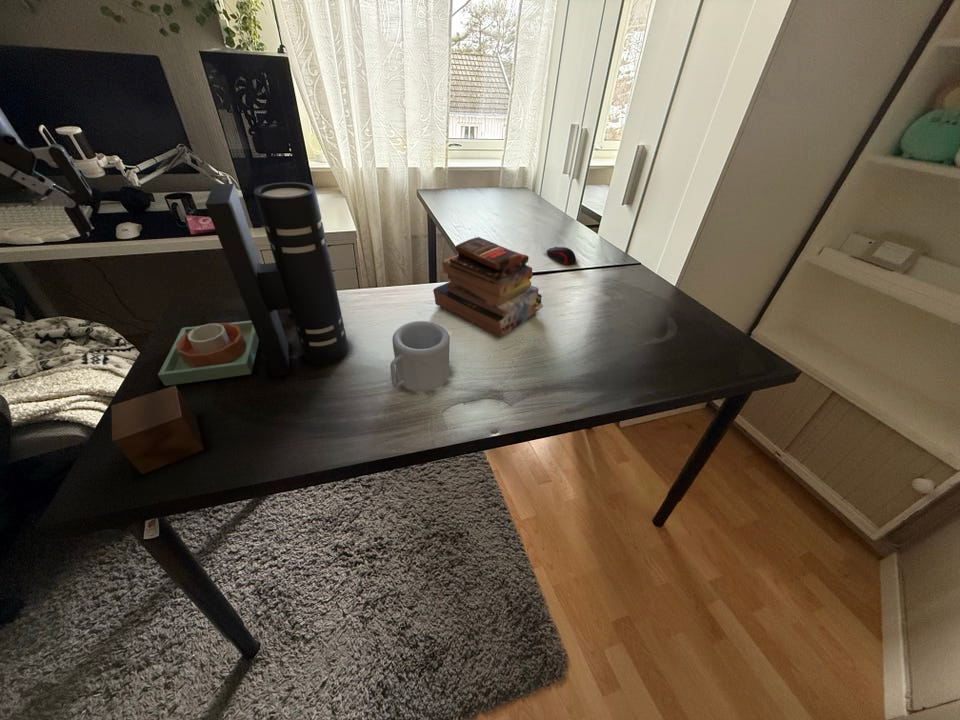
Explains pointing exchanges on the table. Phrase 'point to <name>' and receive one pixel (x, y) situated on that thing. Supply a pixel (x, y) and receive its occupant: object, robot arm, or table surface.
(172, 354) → the tray
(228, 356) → the big bowl
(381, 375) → the table surface
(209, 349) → the small bowl
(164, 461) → the block
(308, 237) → the light fixture
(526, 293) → the stack of old books
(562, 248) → the computer mouse
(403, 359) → the mug
